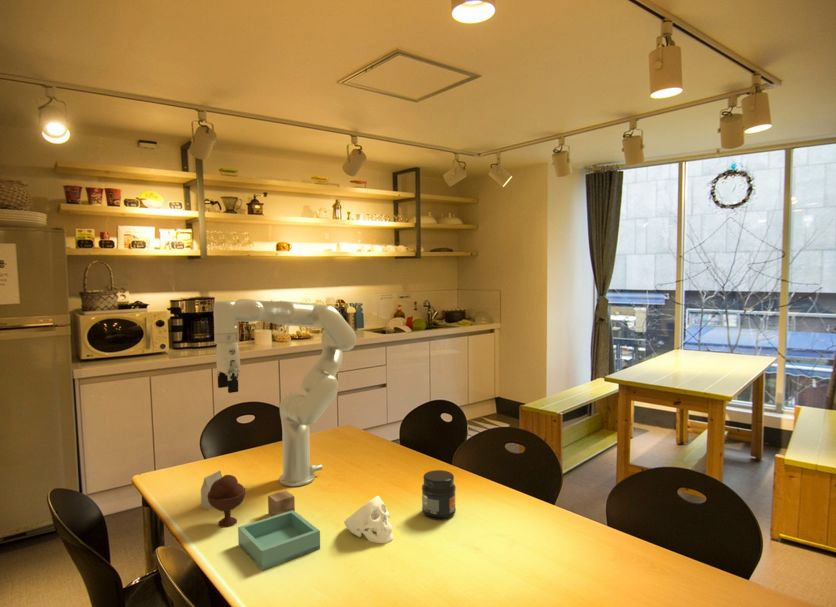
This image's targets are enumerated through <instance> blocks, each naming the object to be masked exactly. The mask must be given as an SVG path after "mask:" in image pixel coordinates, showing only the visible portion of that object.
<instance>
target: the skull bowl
mask: <svg viewBox="0 0 836 607" xmlns="http://www.w3.org/2000/svg"><path fill="white" fill-rule="evenodd" d="M390 517H391V515H390V512H389V511H388V509H387V507H386V504H385V503H384V502H383V500H382V499H381V496H379V495H376V496H375V497H373V498H372V499H370V500H369V501H368V502H366V503H365V504H363V505H362V506H361V507H360V508H359V509H357V510H356V511H355V512H354V513H352V514H351V515H350V516H349V517H348V518H346V519H345V520H344V521H343V524H344V526H345V527H346V528H347V530H349V532H351V534H353V535H355V536H356V537H358V538H360V537H362V534H363V535H364V536H365V537H366V539H367V540H368V541H369V542H370V543H376V544H387V543H390V542H391V541H392V540H393V539H394V535H393V533H392V532H393V529H394V528H393V524H391V522H390V521H389V519H390ZM374 531H375V532H376V533H373V532H374Z"/></svg>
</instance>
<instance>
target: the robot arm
mask: <svg viewBox="0 0 836 607" xmlns="http://www.w3.org/2000/svg"><path fill="white" fill-rule="evenodd" d="M239 322H243V323H244V322H245V323H254V322H260V323H261V322H262V323H263V322H264V323H270V324H271V323H272V324H275V325H280V326H289V327H290V326H292V327H307V328H319V329H323V331H322V333H321V337H320V338H321V347H322V352H321V355H320V357H319V358H318V360H317V361H316V362H315V363H314V364H313V366H312V367H311V368H310V369H309V371H308V372H307V373H306V374H305V375H304V377H303V378H302V380H301V384H300V385H301V386H300V388H301V390H302V391H303V393H305V394H306V395H303V394H300V393H297V392H292V393H288V394H286V395H284V397H283V398H282V399H281V401H280V403H279V416H280V420H281V429H282V432H281V433H282V474H281V475H280V476H279V478H278V483H279V484H281V485H282V486H286V487H302V486H305V485H308V484H311V483H312V482H313V481H314V480H315V472H317V471H323V465H322V464H318V465H317V464H316V463H315V464H311V460H310V459H311V453H310V452H311V450H310V449H311V445H310V438H311V437H310V426H312V424H314V423H316V422H317V421H318V420H319V419H320V417H321V416H322V415H323V414H324V412H325V411H326V410H327V409H328V407H329V406H330V405H331V403H332V402H333V401H334V399H335V398H336V396H337V395H338V392H339V381H338V379H337V377H335V376H336V375H337V373H338V372H339V370H340V369H341V367H342V364H343V360H344V359H343V356H344V355H343V352H349V351H350V350H352V349H353V348H355V346H356V344H357V335H356V332H355V331H354V329H353V327H352V326H351V325H350V324H349V323H348V322H347V321H346V320H345V318H344V317H343V315H342V314H341V313H340V312H339V311H338V310H337V309H336V308H335V307H333V306H332V305H327V304H318V303H317V304H316V303H306V302H297V301H286V300H285V301H284V300H282V301H281V300H280V301H279V300H278V301H277V300H275V301H274V300H273V301H269V300H256V299H250V298H238V299H236V300H218V301H215V302H214V303H213V327H214V328H213V332H214V333H213V334H214V337H213V338H214V344H216V350H215V351H216V357H215V358H216V361H215V362H216V363H215V364H216V369H217V374H216V375H217V388H218V389H222V388H227V392H228V393H229V394H232V393H238V392H239V373H240V372H241V356H240V347H239V344H238V343H239V342H240V340H239V339H240V336H239V335H240V333H239V331H240V329H239Z"/></svg>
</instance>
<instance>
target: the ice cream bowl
mask: <svg viewBox="0 0 836 607" xmlns="http://www.w3.org/2000/svg"><path fill="white" fill-rule="evenodd" d="M246 490H247V489H246V487H244V485H243V484H241V483H239V481H238V479H237V478H236V476H234V475H232V474H225V475H222V478H220V479H218V480H216V481H215V482H214V483H213V484H212V486H211V489H210V492H208V501H209V503H210V505H211V506H212V507H214V508H213V509H216V510H218V511H220V512H223V513H224V517H223V518H222V519H220V520H219V521H218V524H217V525H218V527H220V528H230V527H234V526H235V525H236V524H238V519H237V518H235V517H233V516H231V512H232V511H233V510H234V509H236V508H237V507H239V506H240V505H241V504H242V503H243V502H244V499H245V496H246Z"/></svg>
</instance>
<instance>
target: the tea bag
mask: <svg viewBox="0 0 836 607" xmlns="http://www.w3.org/2000/svg"><path fill="white" fill-rule="evenodd" d="M222 477H223V474H222V473H221V470H218V471H216V472H214V473H212V474H210V475H207V476H206V477H204V479H203V482H202V485H201V488H200V500H201V501H200V504H201V509H207V510H212V509H215V508H214V507H212V506H211V505H210V503H209V501H208V492H210V489H211V486H212V484H213V483H214V482H215V481H216V480H218V479H220V478H222Z"/></svg>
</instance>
